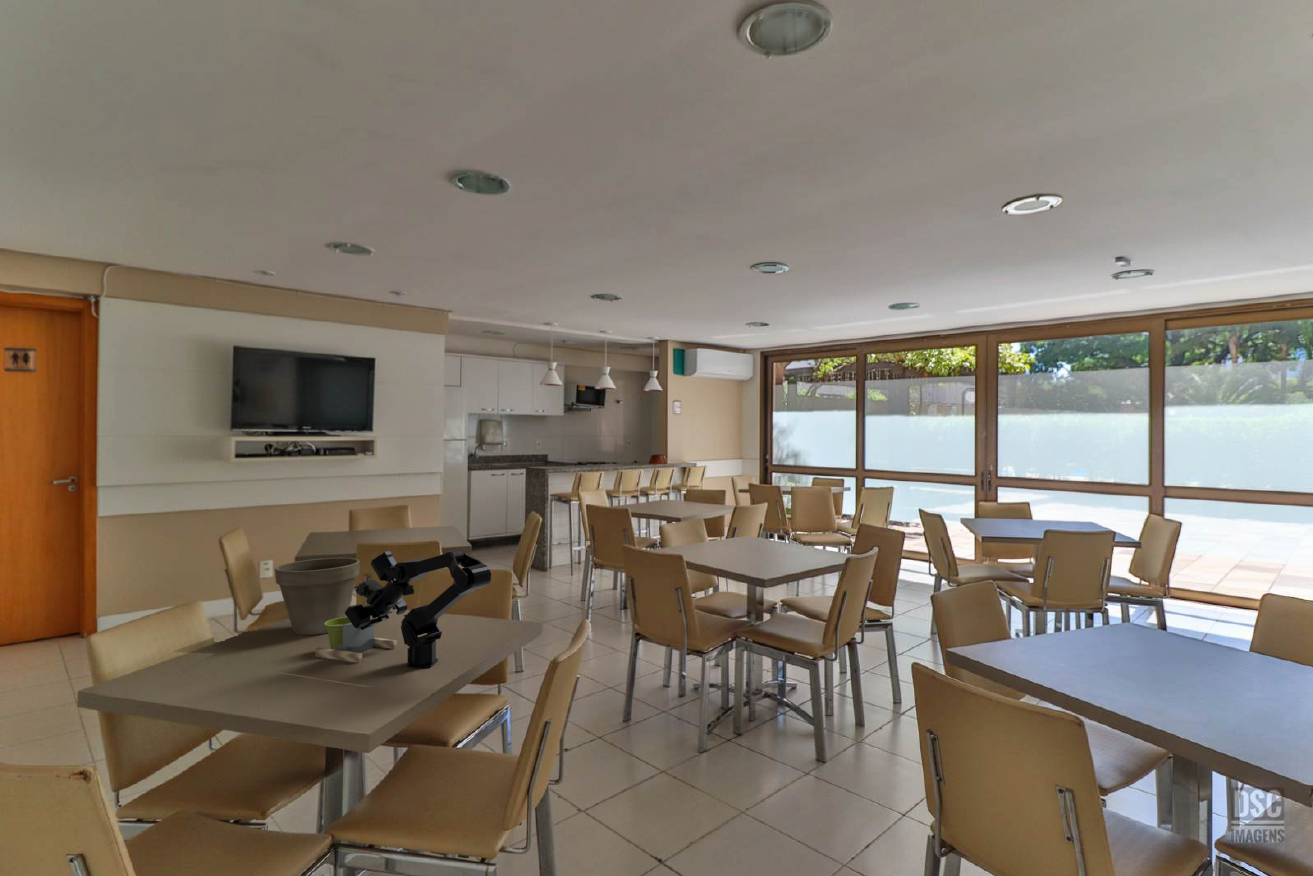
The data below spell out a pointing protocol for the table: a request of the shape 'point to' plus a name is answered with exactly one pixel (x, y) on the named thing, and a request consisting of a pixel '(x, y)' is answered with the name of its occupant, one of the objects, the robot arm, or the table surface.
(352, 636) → the board
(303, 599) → the plant pot
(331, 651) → the wooden rail frame
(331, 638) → the plant pot
